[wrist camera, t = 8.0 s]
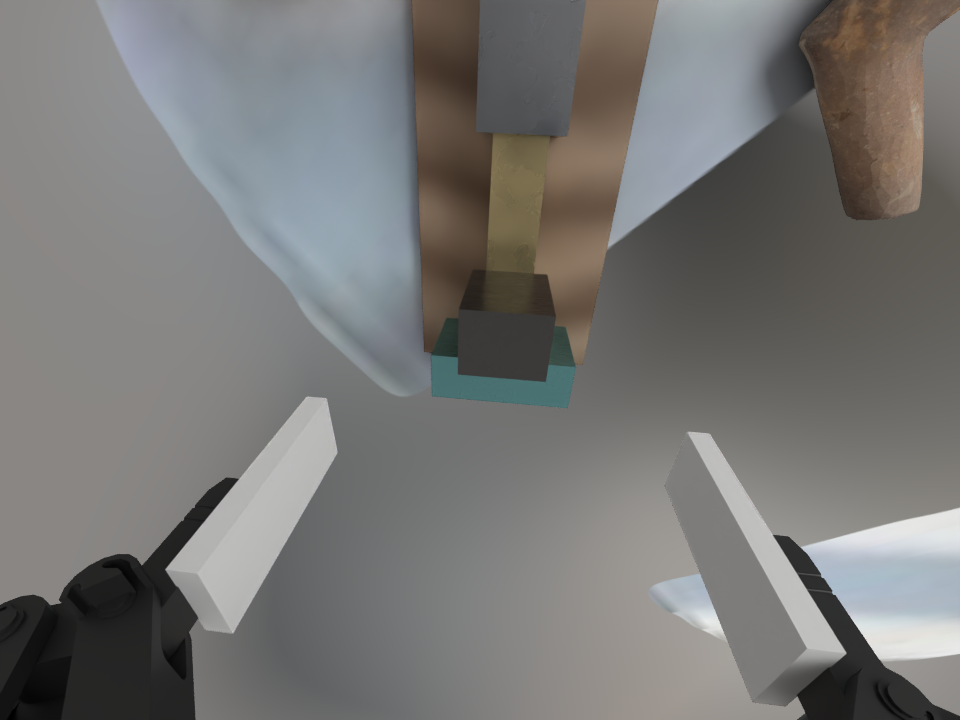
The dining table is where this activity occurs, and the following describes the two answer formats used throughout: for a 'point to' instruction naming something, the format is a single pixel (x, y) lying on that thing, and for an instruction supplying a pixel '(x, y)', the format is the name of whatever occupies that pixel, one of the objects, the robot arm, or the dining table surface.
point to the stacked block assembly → (532, 111)
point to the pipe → (874, 97)
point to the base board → (569, 171)
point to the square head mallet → (510, 272)
